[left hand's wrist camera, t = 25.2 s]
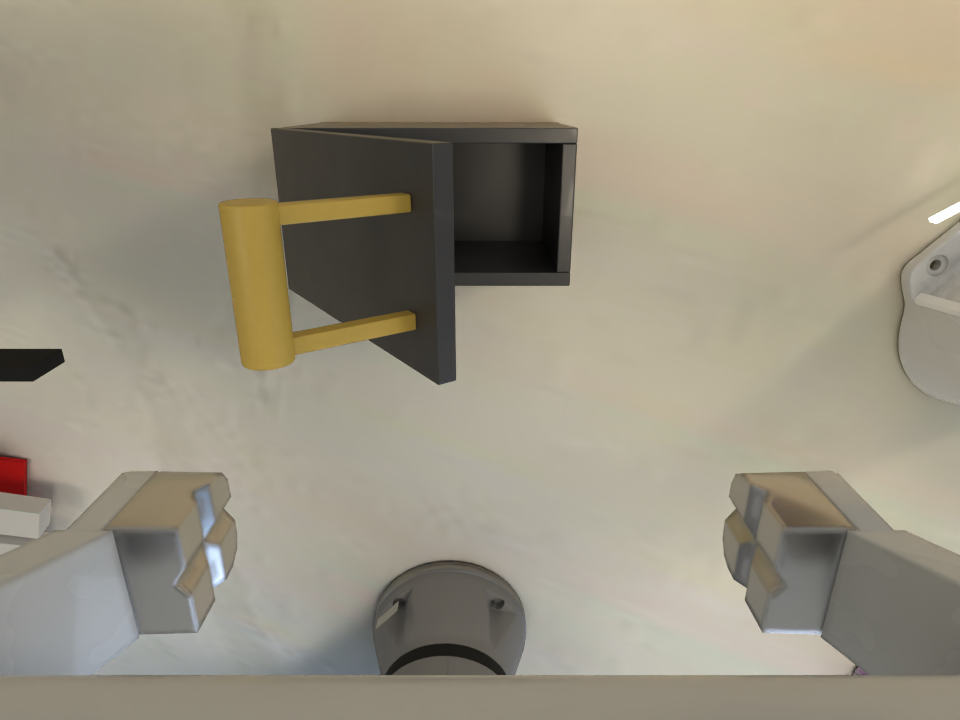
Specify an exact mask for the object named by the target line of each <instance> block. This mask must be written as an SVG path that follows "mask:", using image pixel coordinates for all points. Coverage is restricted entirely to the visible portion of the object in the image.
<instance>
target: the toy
mask: <svg viewBox="0 0 960 720" xmlns="http://www.w3.org/2000/svg"><path fill="white" fill-rule="evenodd" d="M50 516H51V499H47V498H40V497H33V496H27V460H26V459H17V458H8V457H0V555H2V554H4V553H6V552H9V551H11V550H13V549H15V548H17V547H20V546H22V545H24V544H26V543H29V542H31V541H33V540H35V539H37V538H40V537H42V536H44V535H46V534H49V533H50V532H45V530H46V528H47V527H48V526H49V524H50Z"/></svg>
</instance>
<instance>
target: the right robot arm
mask: <svg viewBox="0 0 960 720" xmlns="http://www.w3.org/2000/svg"><path fill="white" fill-rule="evenodd" d="M64 362H65V360H64V357H63V353H62V349H0V381H35V380H36V379H38V378H39V377H41V376H43V375H44V374H46V373H48V372H49V371H51V370H52V369H54V368H56V367H57V366H59V365H60V364H62V363H64ZM373 633H374V644H375V649H376V653H377V658H378V663H379V668H380V672H381V675H515V673H516V670H517V667H518V664H519V661H520V658H521V655H522V652H523V649H524V645H525V639H526V622H525V613H524V609H523V605H522V603H521V601H520V599H519V597H518V595H517V594H516V592H515V591H514V589H513V588H512V587H511V586H510V585H509V584H508V583H507V582H506V581H505V580H503V579H502V578H501V577H499V576H498V575H496V574H495V573H493V572H491V571H489V570H487V569H485V568H482V567H479V566H476V565H473V564H468V563H463V562H450V561H449V562H435V563H430V564H425V565H422V566H419V567H416V568H414V569H411V570H409V571H407V572H406V573H404V574H402V575H401V576H399V577H398V578H397V579H395V580H394V581H393V582H392V583H391V584H390V585H389V586H388V587H387V588H386V590H385V591H384V593H383V594H382V596H381V598H380V600H379V603H378V605H377V609H376V614H375V619H374V626H373Z"/></svg>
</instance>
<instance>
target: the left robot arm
mask: <svg viewBox="0 0 960 720" xmlns="http://www.w3.org/2000/svg"><path fill="white" fill-rule="evenodd" d="M958 212H960V202H959V203H957V204H955V205H953V206H951V207H949V208H947V209H945V210H943V211H941V212H940V213H938V214H936V215H934V216H932V217H930V218H929V221H930V222H932V223H936V224H937V223H939V222H941V221H943V220H944V219H946V218H948V217H950V216H952V215H954V214H956V213H958ZM934 260H935V264H934V266H933V267H931V268H930V264H931V262H932V261H934ZM901 285H902V292H903V296H904V301H905V307H904V313H903V317H902V321H901V326H900V331H899V338H898V348H899V356H900V360H901V364H902V367H903V369H904V371H905V373H906V375H907V376H908V378H909V379H910V381H911V382H912V383H913V384H914V385H915V386H916V387H917V388H918V389H919V390H921V391H922V392H924V393H925V394H927V395H929V396H931V397H933V398H935V399H938V400H941V401H945V402H950V403H955V404H960V221H959V222H958V223H957V224H955V225H954V226H953V227H952V228H950V229H949V230H948V231H947V232H945V233H944V234H943V235H942V236H940V237H939V238H938V239H937V240H936V241H934V242H933V243H932V244H931V245H929V246H928V247H927V248H926V249H924V250H923V251H922V252H921V253H919V254H918V255H917V256H916V257H914V258H913V259H912V260H911V261H909V262H908V263H907V264H906V266H905V267H904V269H903V271H902V274H901ZM230 497H231V494H230V489H229V484H228V479H227V478H226V477H225V476H224V475H223V473H212V472H158V471H131V472H125V473H122V474H121V475H120V476H119V477H118V478H117V479H116V480H115V481H114V482H113V483H112V484H111V485H110V486H109V487H108V488H107V489H106V490H105V491H104V492H103V493H102V494H101V495H100V496H99V497H98V498H97V499H96V500H95V501H94V502H93V503H92V504H91V505H90V506H89V507H88V508H87V509H86V510H85V511H84V512H83V513H82V515H81V516H80V517H79V518H78V519H77V520H76V521H75V522H74V523H73V524H72V525H71V526H70V527H69V528H68V529H67V530H57V531H53V532H51V533H49V534H46V535H44V536H42V537H40V538H37V539H35V540H33V541H31V542H29V543H26V544H24V545H22V546H20V547H17V548H15V549H13V550H11V551H9V552H6V553H4V554H2V555H0V720H960V555H958V554H956V553H954V552H951V551H949V550H947V549H945V548H942V547H940V546H938V545H936V544H934V543H931V542H929V541H927V540H925V539H922V538H920V537H918V536H916V535H914V534H911V533H909V532H907V531H903V530H893V529H892V528H891V527H890V526H889V525H888V524H887V523H886V522H885V521H884V520H883V518H882V517H881V516H880V515H879V514H878V513H877V512H876V511H875V510H874V509H873V508H872V507H871V506H870V505H869V504H868V503H867V502H866V501H865V500H864V499H863V498H862V497H861V496H860V495H859V494H858V493H857V492H856V491H855V490H854V489H853V488H852V487H851V486H850V485H849V484H848V483H847V482H846V481H845V480H844V479H843V478H842V477H841V476H840V475H839V474H838V473H835V472H832V471H812V472H780V473H742V474H735V476H734V478H733V481H732V483H731V488H730V493H729V497H730V499H731V501H732V502H733V504H734V505H735V507H736V509H735V510H734V511H733V512H732V513H731V515H730V516H729V517H728V518H727V519H726V520H725V524H724V531H723V548H724V557H725V560H726V563H727V567H728V569H729V571H730V573H731V575H732V577H733V579H734V580H735V581H737V582H738V583H740V584H742V585H743V586H745V587H746V588H747V590H746V596H745V601H746V603H747V605H748V607H749V609H750V611H751V612H752V614H753V616H754V618H755V620H756V622H757V623H758V625H759V627H760V629H761V631H762V633H790V634H821V638H823V639H824V640H825V641H826V642H828V643H829V644H830V645H832V646H833V647H834V648H835V649H837V650H838V651H839V652H840V653H842V654H843V655H844V656H845V657H847V658H848V659H849V660H851V661H852V662H853V663H854V664H856V665H857V666H858V667H859V668H861V669H862V670H863V671H864V672H866V673H867V674H868V675H92V674H93V673H94V672H96V671H97V670H98V669H100V668H101V667H102V666H103V665H105V664H106V663H107V662H108V661H110V660H111V659H112V658H113V657H115V656H116V655H117V654H119V653H120V652H121V651H122V650H124V649H125V648H126V647H127V646H129V645H130V644H131V643H133V642H134V641H135V640H136V639H138V638H139V634H169V633H198V631H199V629H200V627H201V625H202V623H203V622H204V620H205V618H206V616H207V614H208V612H209V611H210V609H211V607H212V605H213V603H214V601H215V596H214V590H213V588H214V587H215V586H217V585H218V584H220V583H222V582H223V581H225V580H226V579H227V577H228V575H229V573H230V571H231V569H232V567H233V564H234V559H235V555H236V550H237V530H236V523H235V520H234V519H233V518H232V517H231V516H230V515H229V513H228V512H227V511H226V510H225V509H224V507H225V505H226V504H227V502H228V501H229V499H230Z"/></svg>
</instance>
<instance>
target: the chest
mask: <svg viewBox="0 0 960 720" xmlns="http://www.w3.org/2000/svg"><path fill="white" fill-rule="evenodd" d="M284 128H292V129H303V130H315V131H326V132H338V133H349V134H361V135H372V136H384V137H395V138H407V139H418V140H430V141H441V142H451V143H452V144H453V205H454V275H455V286H569V284H570V264H571V245H572V227H573V208H574V189H575V171H576V152H577V144H576V143H577V134H578V128H575V127H571V126H567V125H563V124H559V123H485V122H323V123H317V124H308V125H300V126H292V127H284Z"/></svg>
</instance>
